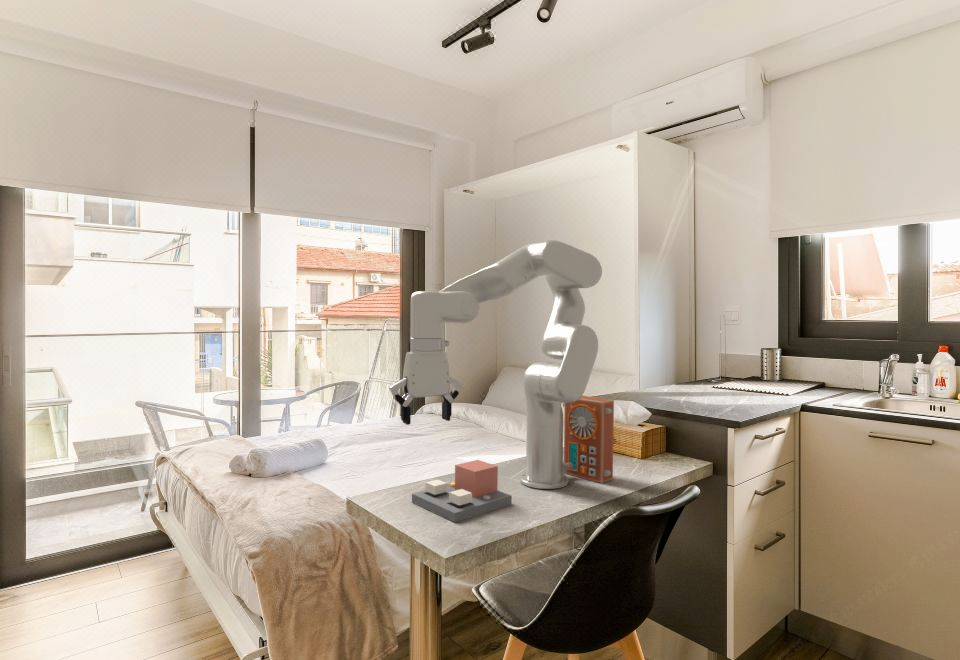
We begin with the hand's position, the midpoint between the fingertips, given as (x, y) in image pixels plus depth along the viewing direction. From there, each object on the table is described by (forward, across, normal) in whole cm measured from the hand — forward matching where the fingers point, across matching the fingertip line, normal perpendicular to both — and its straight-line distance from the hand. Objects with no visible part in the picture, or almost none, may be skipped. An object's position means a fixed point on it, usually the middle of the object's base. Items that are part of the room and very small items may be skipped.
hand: (426, 421), depth 123 cm
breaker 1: (+17, -4, -3) cm, 18 cm away
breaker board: (+20, -9, +1) cm, 22 cm away
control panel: (+20, -48, -2) cm, 52 cm away
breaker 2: (+17, -6, +6) cm, 19 cm away
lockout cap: (+18, -13, 0) cm, 22 cm away
